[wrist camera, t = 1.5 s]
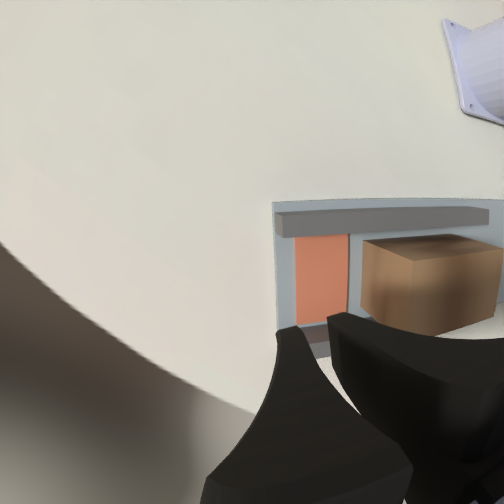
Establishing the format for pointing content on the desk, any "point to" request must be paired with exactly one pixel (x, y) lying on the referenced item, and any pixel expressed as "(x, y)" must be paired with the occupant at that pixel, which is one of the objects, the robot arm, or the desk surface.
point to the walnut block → (430, 282)
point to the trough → (357, 250)
